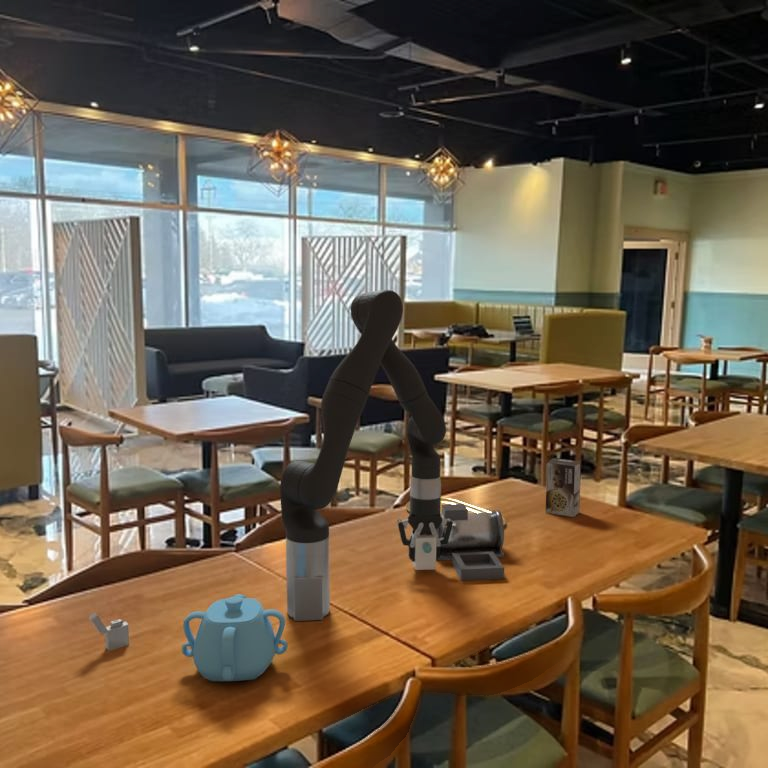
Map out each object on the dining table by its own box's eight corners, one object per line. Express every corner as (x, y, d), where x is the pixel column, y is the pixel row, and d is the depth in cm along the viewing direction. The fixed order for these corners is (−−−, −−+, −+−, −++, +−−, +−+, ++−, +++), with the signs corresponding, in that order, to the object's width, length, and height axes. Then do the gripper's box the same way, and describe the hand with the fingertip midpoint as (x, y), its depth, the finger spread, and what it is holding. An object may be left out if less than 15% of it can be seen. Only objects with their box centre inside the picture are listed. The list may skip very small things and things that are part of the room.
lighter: (126, 641, 151) (124, 603, 150) (129, 644, 150) (127, 606, 148) (90, 652, 146) (88, 613, 145) (93, 656, 145) (91, 617, 144)
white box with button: (437, 572, 183) (438, 540, 181) (417, 573, 182) (417, 541, 181) (432, 561, 190) (432, 531, 188) (412, 562, 189) (413, 531, 188)
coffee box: (580, 512, 233) (582, 461, 230) (573, 517, 227) (575, 465, 225) (551, 507, 238) (553, 457, 235) (544, 512, 232) (546, 461, 230)
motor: (504, 557, 196) (505, 512, 194) (434, 560, 194) (435, 515, 192) (492, 541, 208) (493, 498, 206) (426, 543, 206) (427, 501, 204)
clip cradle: (503, 578, 182) (504, 567, 182) (460, 580, 181) (461, 569, 181) (489, 557, 196) (490, 547, 195) (449, 559, 194) (449, 549, 194)
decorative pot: (175, 666, 142) (172, 597, 140) (248, 638, 153) (247, 574, 150) (219, 702, 130) (216, 628, 128) (295, 669, 141) (294, 601, 138)
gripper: (398, 498, 180) (397, 567, 182) (457, 497, 181) (455, 565, 184) (394, 490, 187) (393, 555, 190) (451, 488, 189) (449, 553, 191)
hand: (424, 560), depth 187 cm, fingers closed on white box with button, 5 cm apart
